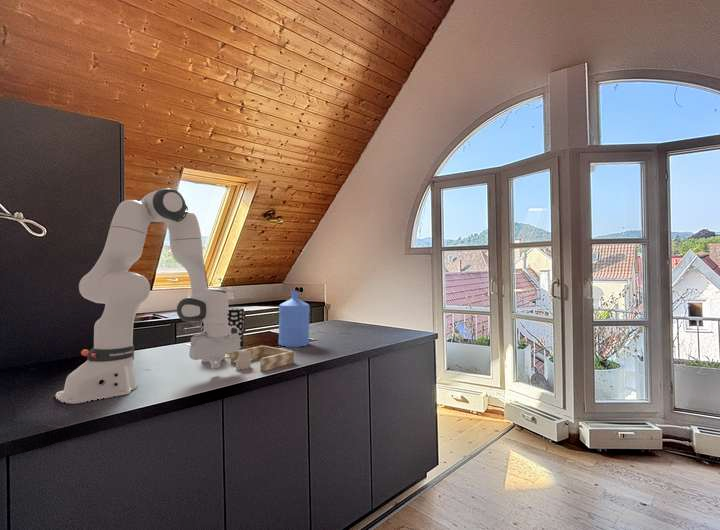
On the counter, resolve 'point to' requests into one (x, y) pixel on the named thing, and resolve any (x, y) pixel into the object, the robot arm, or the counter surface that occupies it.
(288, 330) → the water jug
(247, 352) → the architectural model
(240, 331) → the white-spotted black cylinder
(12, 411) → the counter surface
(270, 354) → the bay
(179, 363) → the counter surface
